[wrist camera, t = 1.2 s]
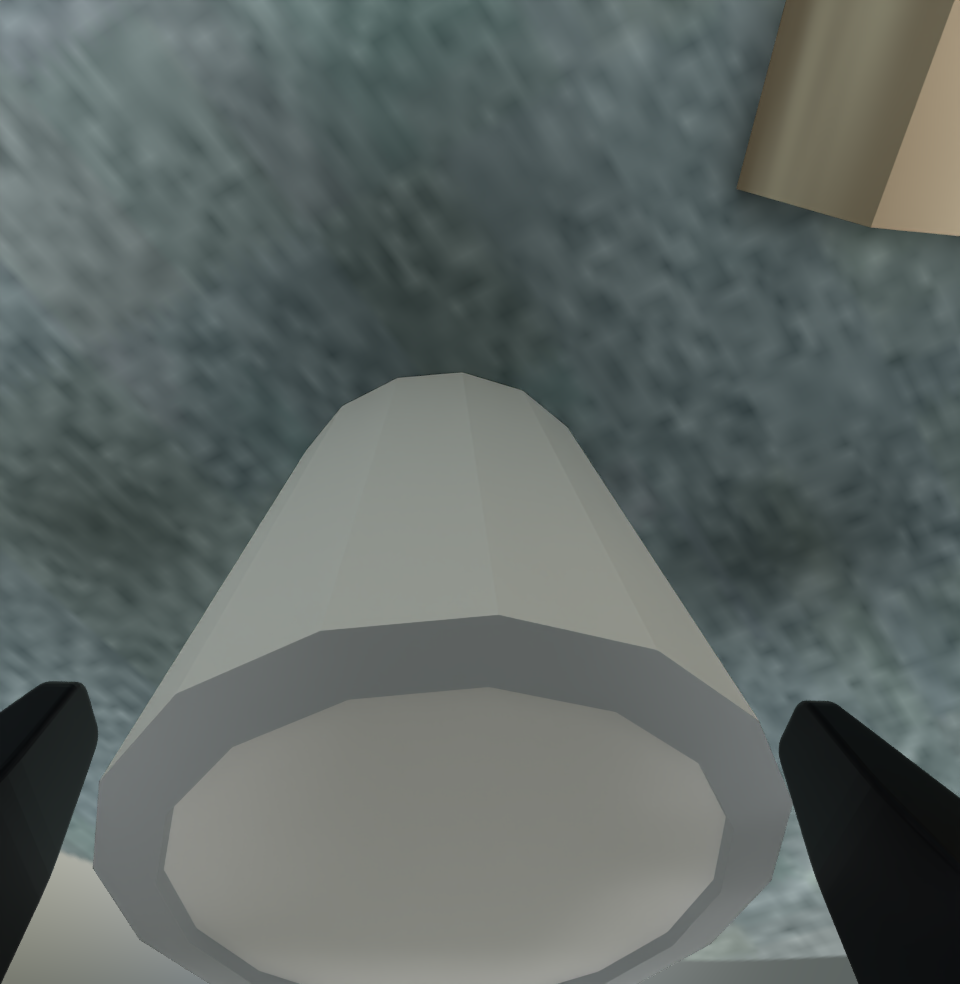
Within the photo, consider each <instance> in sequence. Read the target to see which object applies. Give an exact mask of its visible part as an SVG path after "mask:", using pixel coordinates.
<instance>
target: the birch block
mask: <svg viewBox="0 0 960 984" xmlns="http://www.w3.org/2000/svg"><path fill="white" fill-rule="evenodd" d="M736 189H738V190H742V191H745V192H749V193H752V194H756V195H759V196H763V197H766V198H770V199H773V200H777V201H780V202H784V203H787V204H791V205H794V206H798V207H801V208H805V209H808V210H812V211H815V212H819V213H822V214H826V215H829V216H833V217H836V218H840V219H843V220H847V221H850V222H854V223H857V224H860V225H864V226H867V227H871V228H881V229H892V230H902V231H912V232H923V233H933V234H943V235H954V236H960V0H786V3H785V7H784V10H783V14H782V18H781V22H780V25H779V29H778V33H777V37H776V41H775V44H774V48H773V52H772V56H771V60H770V63H769V67H768V71H767V75H766V78H765V82H764V86H763V90H762V94H761V97H760V101H759V105H758V109H757V113H756V116H755V120H754V124H753V128H752V131H751V135H750V139H749V143H748V147H747V150H746V154H745V158H744V162H743V166H742V169H741V173H740V177H739V181H738V184H737V188H736Z"/></svg>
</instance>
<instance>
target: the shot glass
mask: <svg viewBox="0 0 960 984" xmlns="http://www.w3.org/2000/svg"><path fill="white" fill-rule="evenodd" d="M792 805H793V802H792V800H791V797H790V795H789V793H788V790H787V788H786V785H785V783H784V780H783V778H782V776H781V773H780V771H779V768H778V766H777V763H776V761H775V759H774V756H773V754H772V751H771V749H770V746H769V744H768V742H767V739H766V737H765V734H764V732H763V730H762V727H761V725H760V722H759V720H758V719H757V717H756V716H755V714H754V712H753V711H752V709H751V708H750V706H749V705H748V703H747V702H746V700H745V699H744V697H743V696H742V694H741V693H740V691H739V689H738V688H737V686H736V685H735V683H734V682H733V680H732V679H731V677H730V676H729V674H728V673H727V671H726V670H725V668H724V666H723V665H722V663H721V662H720V660H719V659H718V657H717V656H716V654H715V653H714V651H713V650H712V648H711V647H710V645H709V643H708V642H707V640H706V639H705V637H704V636H703V634H702V633H701V631H700V630H699V628H698V627H697V625H696V624H695V622H694V620H693V619H692V617H691V616H690V614H689V613H688V611H687V610H686V608H685V607H684V605H683V604H682V602H681V601H680V599H679V597H678V596H677V594H676V593H675V591H674V590H673V588H672V587H671V585H670V584H669V582H668V581H667V579H666V578H665V576H664V575H663V573H662V571H661V570H660V568H659V567H658V565H657V564H656V562H655V561H654V559H653V558H652V556H651V555H650V553H649V552H648V550H647V548H646V547H645V545H644V544H643V542H642V541H641V539H640V538H639V536H638V535H637V533H636V532H635V530H634V529H633V527H632V525H631V524H630V522H629V521H628V519H627V518H626V516H625V515H624V513H623V512H622V510H621V509H620V507H619V506H618V504H617V502H616V501H615V499H614V498H613V496H612V495H611V493H610V492H609V490H608V489H607V487H606V486H605V484H604V483H603V481H602V479H601V478H600V476H599V475H598V473H597V472H596V470H595V469H594V467H593V466H592V464H591V463H590V461H589V460H588V458H587V456H586V455H585V453H584V452H583V450H582V449H581V447H580V446H579V444H578V443H577V441H576V440H575V438H574V437H573V435H572V434H571V432H570V430H569V429H568V427H566V426H565V425H564V424H563V423H562V422H560V421H559V420H558V419H557V418H556V417H554V416H553V415H552V414H551V413H549V412H548V411H547V410H546V409H545V408H543V407H542V406H541V405H540V404H539V403H537V402H536V401H535V400H534V399H532V398H531V397H530V396H529V395H528V394H526V393H525V392H524V391H523V390H520V389H516V388H513V387H510V386H506V385H503V384H499V383H496V382H493V381H489V380H486V379H483V378H479V377H476V376H473V375H469V374H466V373H463V372H461V373H449V374H437V375H426V376H414V377H402V378H396V379H394V380H392V381H390V382H389V383H387V384H385V385H383V386H381V387H379V388H377V389H375V390H373V391H371V392H369V393H367V394H365V395H363V396H361V397H359V398H357V399H355V400H353V401H351V402H349V403H347V404H345V405H343V406H342V407H341V408H340V409H339V410H338V412H337V413H336V414H335V415H334V417H333V418H332V419H331V420H330V422H329V423H328V424H327V425H326V426H325V428H324V429H323V430H322V431H321V433H320V434H319V435H318V436H317V438H316V439H315V440H314V441H313V442H312V444H311V445H310V446H309V447H308V449H307V450H306V451H305V453H304V455H303V456H302V458H301V459H300V461H299V463H298V464H297V466H296V467H295V469H294V471H293V472H292V474H291V475H290V477H289V479H288V480H287V482H286V483H285V485H284V487H283V488H282V490H281V491H280V493H279V495H278V496H277V498H276V499H275V501H274V503H273V504H272V506H271V507H270V509H269V511H268V512H267V514H266V515H265V517H264V519H263V520H262V522H261V523H260V525H259V527H258V528H257V530H256V531H255V533H254V535H253V536H252V538H251V539H250V541H249V543H248V544H247V546H246V547H245V549H244V551H243V552H242V554H241V555H240V557H239V559H238V560H237V562H236V563H235V565H234V567H233V568H232V570H231V571H230V573H229V575H228V576H227V578H226V579H225V581H224V583H223V584H222V586H221V587H220V589H219V591H218V592H217V594H216V595H215V597H214V599H213V600H212V602H211V603H210V605H209V607H208V608H207V610H206V611H205V613H204V614H203V616H202V618H201V619H200V621H199V622H198V624H197V626H196V627H195V629H194V630H193V632H192V634H191V635H190V637H189V638H188V640H187V642H186V643H185V645H184V646H183V648H182V650H181V651H180V653H179V654H178V656H177V658H176V659H175V661H174V662H173V664H172V666H171V667H170V669H169V670H168V672H167V674H166V675H165V677H164V678H163V680H162V682H161V683H160V685H159V686H158V688H157V690H156V691H155V693H154V694H153V696H152V698H151V699H150V701H149V702H148V704H147V706H146V707H145V709H144V710H143V712H142V714H141V715H140V717H139V718H138V720H137V722H136V723H135V725H134V726H133V728H132V730H131V731H130V733H129V734H128V736H127V738H126V739H125V741H124V742H123V744H122V746H121V747H120V749H119V750H118V752H117V754H116V755H115V757H114V758H113V760H112V762H111V763H110V765H109V766H108V768H107V770H106V771H105V773H104V774H103V776H102V778H101V779H100V781H99V792H98V806H97V819H96V833H95V846H94V860H93V869H94V871H95V872H96V874H97V875H98V877H99V878H100V880H101V881H102V883H103V884H104V886H105V888H106V889H107V891H108V892H109V894H110V895H111V897H112V898H113V900H114V901H115V903H116V904H117V906H118V907H119V909H120V911H121V912H122V913H123V915H124V917H125V918H126V920H127V921H128V923H129V924H130V926H131V927H132V929H133V930H134V932H135V933H136V935H137V936H138V938H139V940H141V941H142V942H144V943H145V944H147V945H149V946H150V947H152V948H153V949H155V950H157V951H158V952H160V953H161V954H163V955H165V956H166V957H168V958H169V959H171V960H172V961H174V962H176V963H177V964H179V965H180V966H182V967H184V968H185V969H187V970H188V971H190V972H191V973H193V974H195V975H196V976H198V977H200V978H201V979H203V980H204V981H206V982H207V983H209V984H639V983H640V982H642V981H644V980H646V979H647V978H650V977H651V976H653V975H655V974H657V973H659V972H660V971H662V970H664V969H666V968H668V967H670V966H671V965H673V964H675V963H677V962H679V961H681V960H682V959H684V958H686V957H688V956H690V955H692V954H693V953H695V952H697V951H699V950H701V949H703V948H704V947H706V946H708V945H710V944H711V943H712V942H713V941H714V940H715V939H716V938H717V937H718V936H719V935H720V934H721V933H722V932H723V931H724V930H725V929H726V928H727V927H728V926H729V924H730V923H731V922H732V921H733V920H734V919H735V918H736V917H737V916H738V915H739V914H740V913H741V912H742V911H743V910H744V909H745V908H746V907H747V906H748V904H749V903H750V902H751V901H752V900H753V899H754V898H755V897H756V896H757V895H758V894H759V893H760V892H761V891H762V890H763V889H764V888H765V887H766V886H767V884H768V883H769V882H770V881H771V880H772V876H773V873H774V869H775V865H776V862H777V858H778V855H779V851H780V848H781V844H782V840H783V837H784V833H785V830H786V826H787V822H788V819H789V815H790V812H791V808H792Z"/></svg>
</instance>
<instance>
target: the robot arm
mask: <svg viewBox="0 0 960 984" xmlns="http://www.w3.org/2000/svg"><path fill="white" fill-rule="evenodd" d="M97 741H98V727H97V723H96V720H95V716H94V713H93V709H92V706H91V702H90V699H89V696H88V692H87V690H86V687H85V686H84V685H83V684H82V683H79V682H62V681H49V682H45V683H42V684H40V685H39V686H37V687H35V688H34V689H33V690H31V691H30V692H28V693H27V694H25V695H24V696H23V697H21V698H20V699H18V700H17V701H15V702H14V703H13V704H11V705H10V706H8V707H7V708H5V709H4V710H3V711H1V712H0V984H1V983H2V981H3V978H4V976H5V974H6V972H7V970H8V968H9V965H10V963H11V961H12V959H13V957H14V955H15V953H16V951H17V948H18V946H19V944H20V942H21V940H22V938H23V935H24V933H25V931H26V929H27V927H28V925H29V923H30V921H31V918H32V916H33V914H34V912H35V910H36V908H37V906H38V904H39V901H40V899H41V897H42V895H43V892H44V890H45V888H46V885H47V883H48V881H49V879H50V876H51V873H52V871H53V868H54V866H55V863H56V860H57V858H58V855H59V852H60V849H61V847H62V844H63V841H64V838H65V835H66V832H67V829H68V827H69V824H70V821H71V818H72V815H73V812H74V809H75V807H76V804H77V801H78V798H79V795H80V792H81V789H82V786H83V784H84V781H85V778H86V775H87V772H88V769H89V766H90V764H91V761H92V758H93V755H94V752H95V749H96V746H97ZM779 758H780V762H781V765H782V769H783V772H784V775H785V779H786V782H787V785H788V789H789V792H790V795H791V799H792V802H793V805H794V809H795V812H796V815H797V819H798V822H799V825H800V829H801V832H802V835H803V839H804V842H805V845H806V849H807V852H808V855H809V859H810V862H811V865H812V868H813V871H814V874H815V877H816V879H817V882H818V885H819V887H820V890H821V892H822V895H823V898H824V900H825V903H826V905H827V908H828V910H829V912H830V915H831V917H832V920H833V922H834V925H835V927H836V930H837V932H838V935H839V937H840V940H841V942H842V944H843V947H844V949H845V952H846V954H847V957H848V959H849V961H850V964H851V967H852V969H853V972H854V974H855V976H856V979H857V981H858V984H960V798H959V797H958V796H957V795H955V794H954V793H953V792H951V791H950V790H949V789H947V788H946V787H945V786H943V785H942V784H941V783H940V782H938V781H937V780H936V779H934V778H933V777H932V776H930V775H929V774H928V773H926V772H925V771H924V770H923V769H921V768H920V767H919V766H917V765H916V764H915V763H913V762H912V761H911V760H909V759H908V758H907V757H905V756H904V755H903V754H902V753H900V752H899V751H898V750H896V749H895V748H894V747H892V746H891V745H890V744H888V743H887V742H886V741H885V740H883V739H882V738H881V737H879V736H878V735H877V734H875V733H874V732H873V731H871V730H870V729H869V728H867V727H866V726H865V725H864V724H862V723H861V722H860V721H858V720H857V719H856V718H854V717H853V716H852V715H850V714H849V713H848V712H847V711H845V710H844V709H843V708H841V707H840V706H838V705H837V704H835V703H833V702H830V701H807V700H806V701H802V702H800V703H799V704H798V705H797V706H796V708H795V710H794V712H793V714H792V716H791V718H790V720H789V722H788V725H787V727H786V729H785V731H784V733H783V735H782V737H781V740H780V743H779Z"/></svg>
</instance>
